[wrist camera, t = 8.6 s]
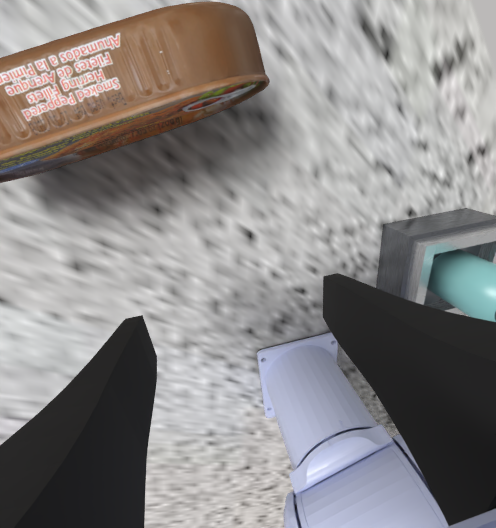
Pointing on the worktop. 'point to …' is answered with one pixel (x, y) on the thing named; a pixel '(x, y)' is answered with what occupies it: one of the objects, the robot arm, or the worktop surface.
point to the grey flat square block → (431, 251)
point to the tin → (124, 84)
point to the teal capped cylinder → (465, 283)
